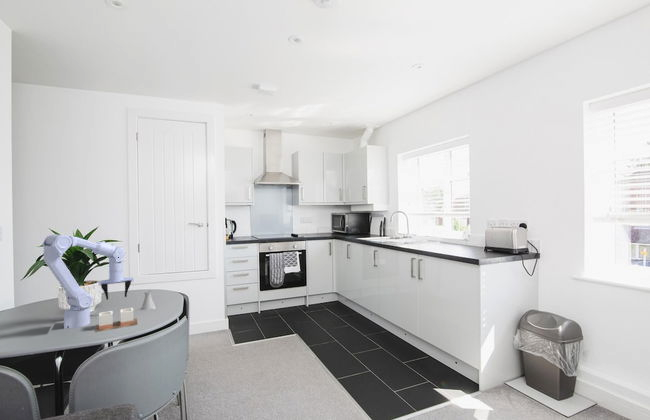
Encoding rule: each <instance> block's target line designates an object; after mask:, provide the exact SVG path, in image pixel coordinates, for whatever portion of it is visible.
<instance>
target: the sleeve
mask: <svg viewBox="0 0 650 420" xmlns="http://www.w3.org/2000/svg"><path fill="white" fill-rule="evenodd" d="M119 311H120V321H121V326H123V325H128V324H134V307H129V308H121V309H120V310H119Z"/></svg>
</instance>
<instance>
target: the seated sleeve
mask: <svg viewBox="0 0 650 420" xmlns="http://www.w3.org/2000/svg"><path fill="white" fill-rule="evenodd" d="M113 314H114V313H113V310H109V311H102V312H99V313H98V324H99V330H100V329H105V328H111V327H113V322H114V317H113V316H114V315H113Z"/></svg>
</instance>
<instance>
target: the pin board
mask: <svg viewBox="0 0 650 420" xmlns="http://www.w3.org/2000/svg"><path fill="white" fill-rule="evenodd" d="M133 326H138V319H137V317H136V318H134V324H128V325H123V326H121V320H116V321H113V327H111V328H105V329H100V330H99V323H98V324H96V325H95V327H94V333H99V332H103V331H109V330H114V329H115V330H116V329H120V328H127V327H128V328H129V327H133Z"/></svg>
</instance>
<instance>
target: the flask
mask: <svg viewBox="0 0 650 420" xmlns="http://www.w3.org/2000/svg"><path fill="white" fill-rule="evenodd" d="M152 309H153V311H156V310H157V307H156V304H155V302H154V301H153V298H152V290H147V291H145V292H144V300H143V303H142V305H141V308H140V310H152Z"/></svg>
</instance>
